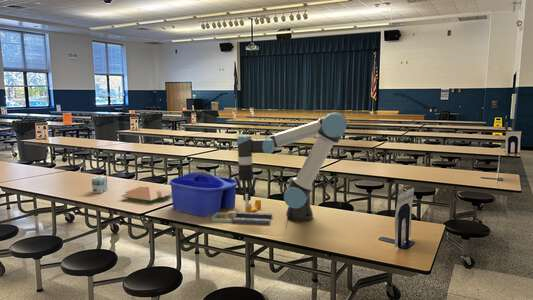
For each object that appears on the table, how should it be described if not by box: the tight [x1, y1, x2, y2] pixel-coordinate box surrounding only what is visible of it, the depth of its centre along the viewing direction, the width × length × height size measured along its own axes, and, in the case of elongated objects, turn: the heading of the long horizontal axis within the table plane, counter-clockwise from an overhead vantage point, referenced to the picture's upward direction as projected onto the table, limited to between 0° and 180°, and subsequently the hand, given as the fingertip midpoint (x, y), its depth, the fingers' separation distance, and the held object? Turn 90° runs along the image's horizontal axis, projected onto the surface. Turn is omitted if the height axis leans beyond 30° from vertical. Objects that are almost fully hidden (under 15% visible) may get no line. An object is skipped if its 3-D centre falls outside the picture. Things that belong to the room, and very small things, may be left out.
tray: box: [210, 211, 232, 223], centre depth 207 cm, size 12×12×3 cm
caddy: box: [169, 170, 238, 217], centre depth 230 cm, size 32×45×23 cm
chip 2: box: [227, 210, 237, 219], centre depth 206 cm, size 4×4×4 cm
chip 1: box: [220, 211, 229, 219], centre depth 206 cm, size 4×4×4 cm
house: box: [121, 186, 172, 205], centre depth 254 cm, size 23×33×8 cm
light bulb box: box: [91, 175, 108, 194], centre depth 270 cm, size 11×7×11 cm, turn 179°
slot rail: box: [231, 211, 273, 226], centre depth 204 cm, size 20×13×4 cm, turn 82°
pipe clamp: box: [244, 198, 262, 213], centre depth 222 cm, size 12×4×6 cm, turn 146°
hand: (247, 206), depth 205 cm, fingers closed
